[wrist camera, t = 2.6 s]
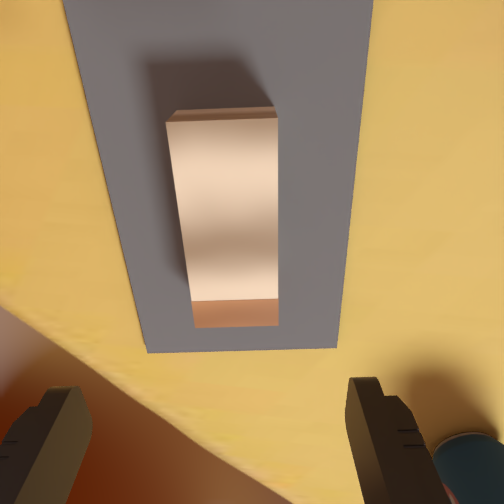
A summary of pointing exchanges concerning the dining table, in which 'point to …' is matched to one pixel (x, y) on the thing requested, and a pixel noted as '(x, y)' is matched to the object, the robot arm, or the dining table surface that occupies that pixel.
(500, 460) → the soda can
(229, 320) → the tan rectangular block
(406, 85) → the dining table surface
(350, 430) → the robot arm
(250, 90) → the mat
